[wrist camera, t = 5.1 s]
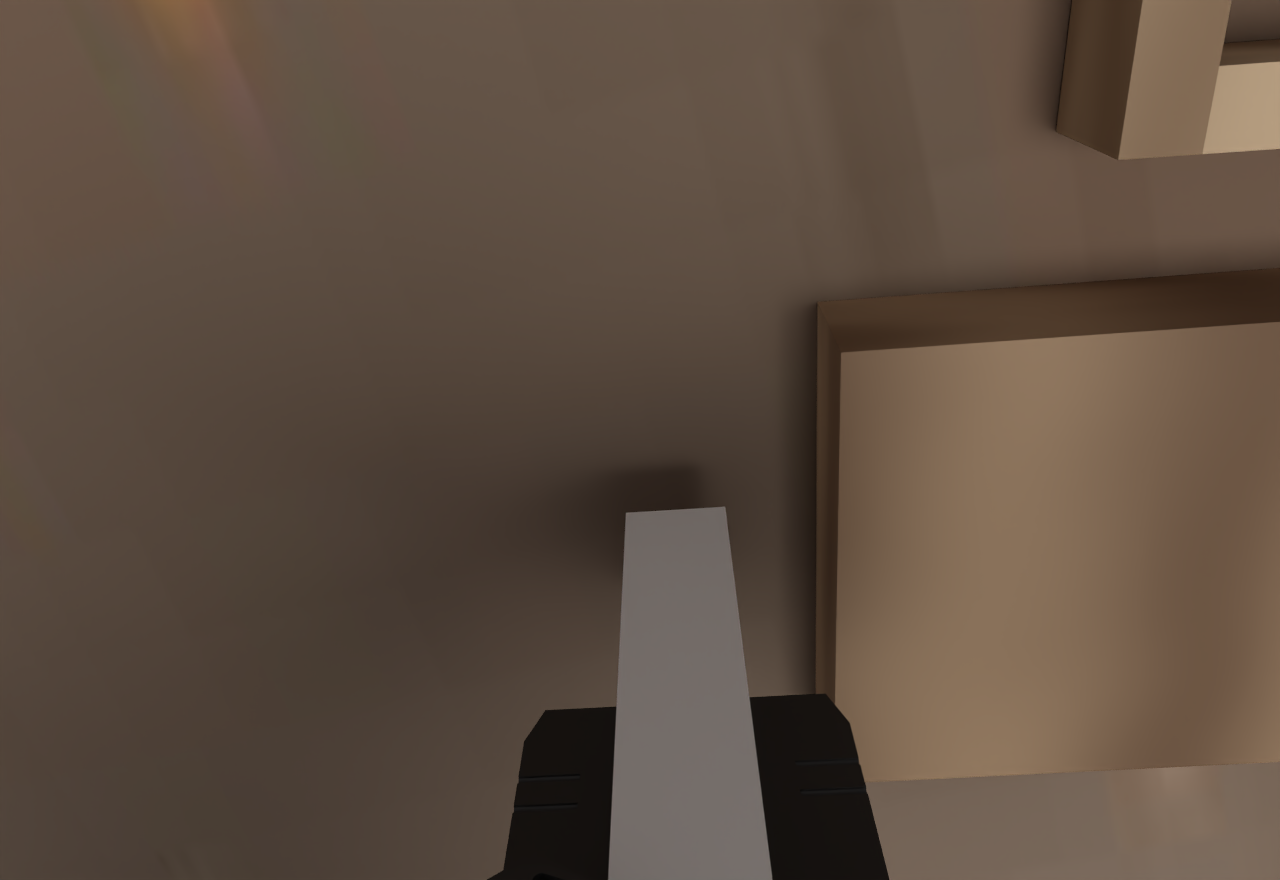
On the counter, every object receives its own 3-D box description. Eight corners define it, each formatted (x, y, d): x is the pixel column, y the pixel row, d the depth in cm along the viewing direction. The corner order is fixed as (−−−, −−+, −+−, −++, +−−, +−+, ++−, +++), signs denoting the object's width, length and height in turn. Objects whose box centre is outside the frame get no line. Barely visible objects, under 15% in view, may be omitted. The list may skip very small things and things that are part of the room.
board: (811, 684, 19) (833, 783, 16) (813, 292, 15) (841, 352, 13) (1339, 655, 18) (1435, 753, 16) (1473, 243, 15) (1622, 298, 12)
